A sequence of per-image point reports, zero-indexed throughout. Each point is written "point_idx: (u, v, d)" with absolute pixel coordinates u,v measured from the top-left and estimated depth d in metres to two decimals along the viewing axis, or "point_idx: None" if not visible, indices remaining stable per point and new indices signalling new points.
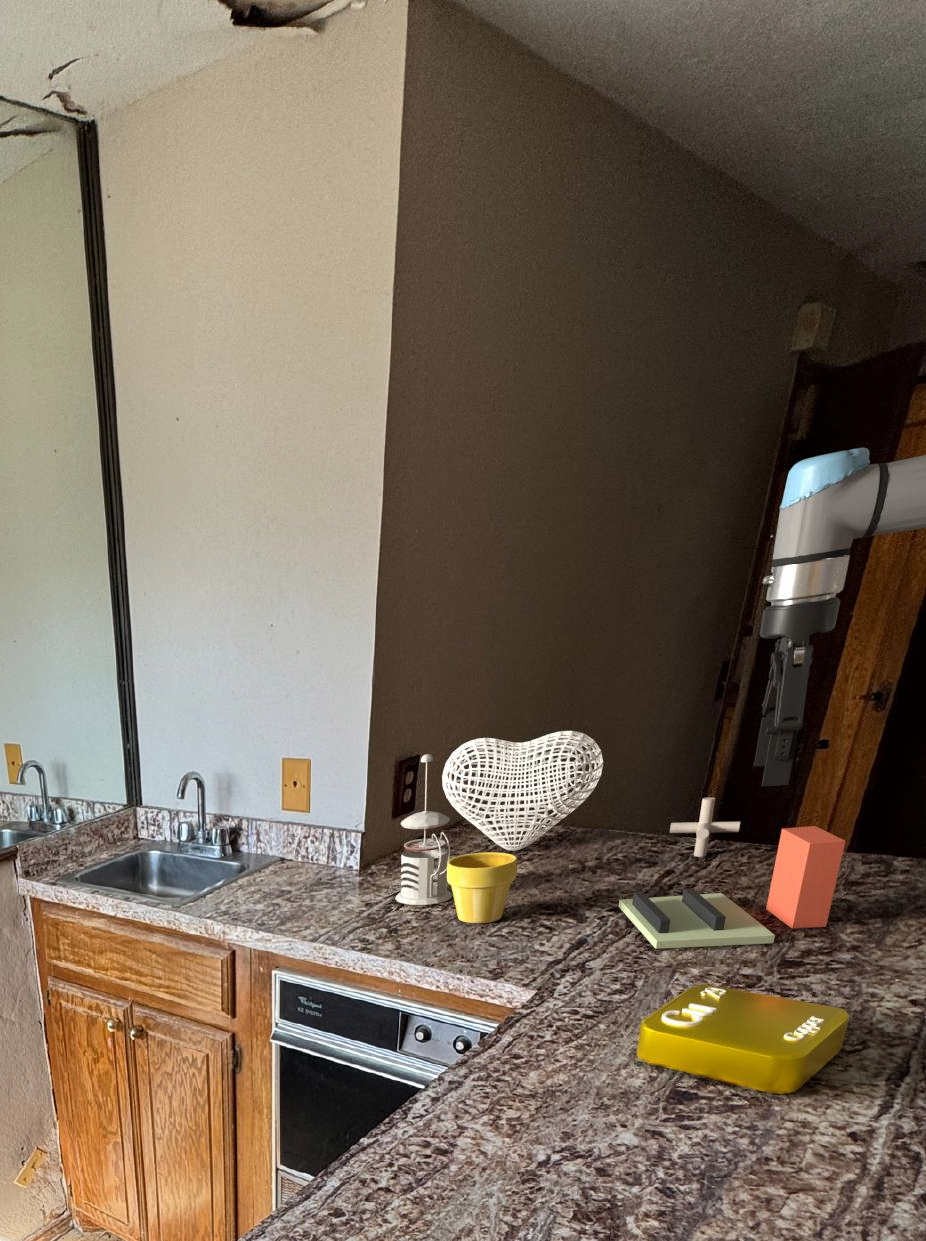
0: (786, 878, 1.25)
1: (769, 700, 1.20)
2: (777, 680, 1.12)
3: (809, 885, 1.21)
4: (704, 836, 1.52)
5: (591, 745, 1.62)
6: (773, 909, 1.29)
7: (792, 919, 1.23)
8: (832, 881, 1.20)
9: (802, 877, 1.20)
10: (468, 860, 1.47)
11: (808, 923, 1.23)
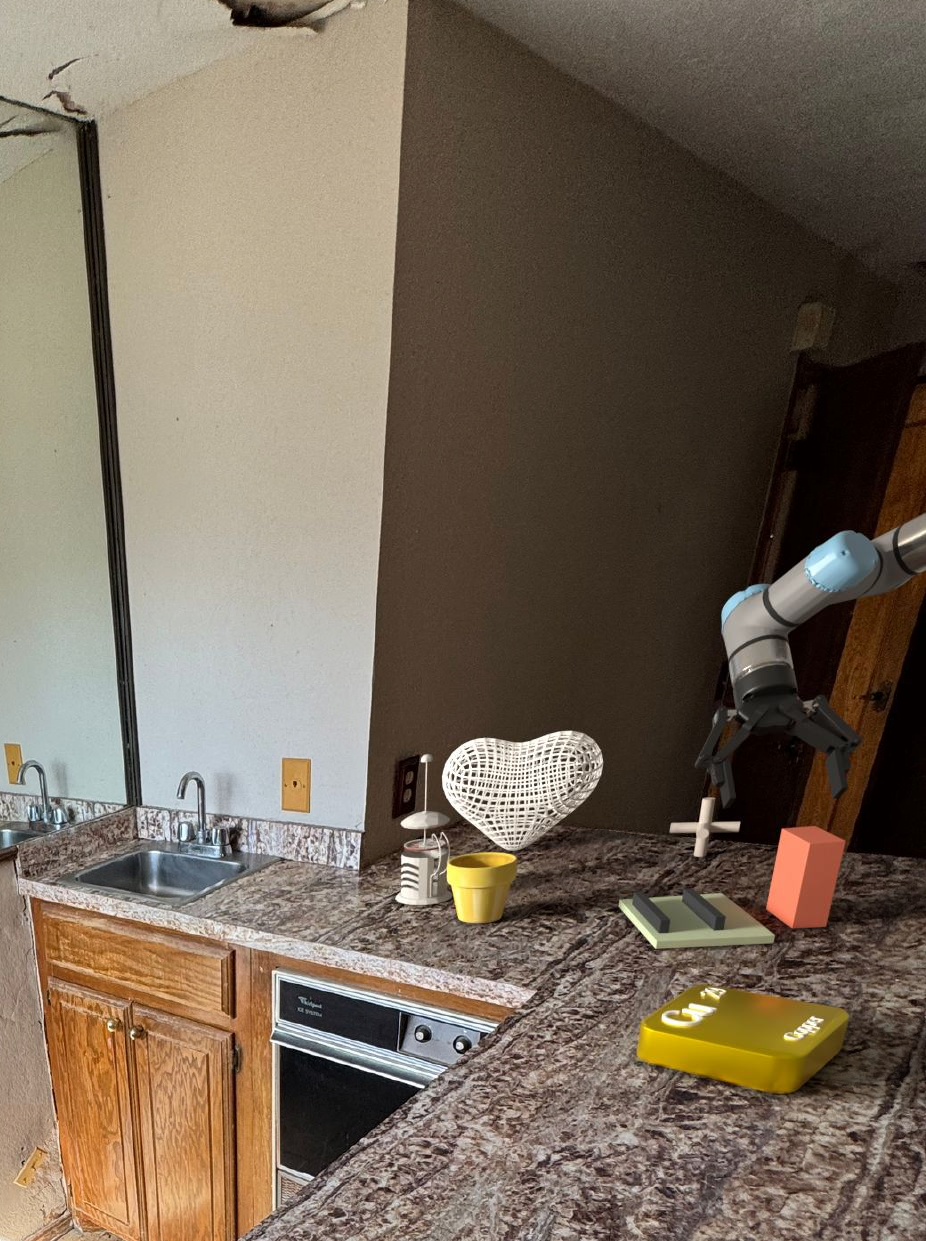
0: (786, 878, 1.25)
1: (816, 747, 1.31)
2: None
3: (809, 885, 1.21)
4: (704, 836, 1.52)
5: (591, 745, 1.62)
6: (773, 909, 1.29)
7: (792, 919, 1.23)
8: (832, 881, 1.20)
9: (802, 877, 1.20)
10: (468, 860, 1.47)
11: (808, 923, 1.23)
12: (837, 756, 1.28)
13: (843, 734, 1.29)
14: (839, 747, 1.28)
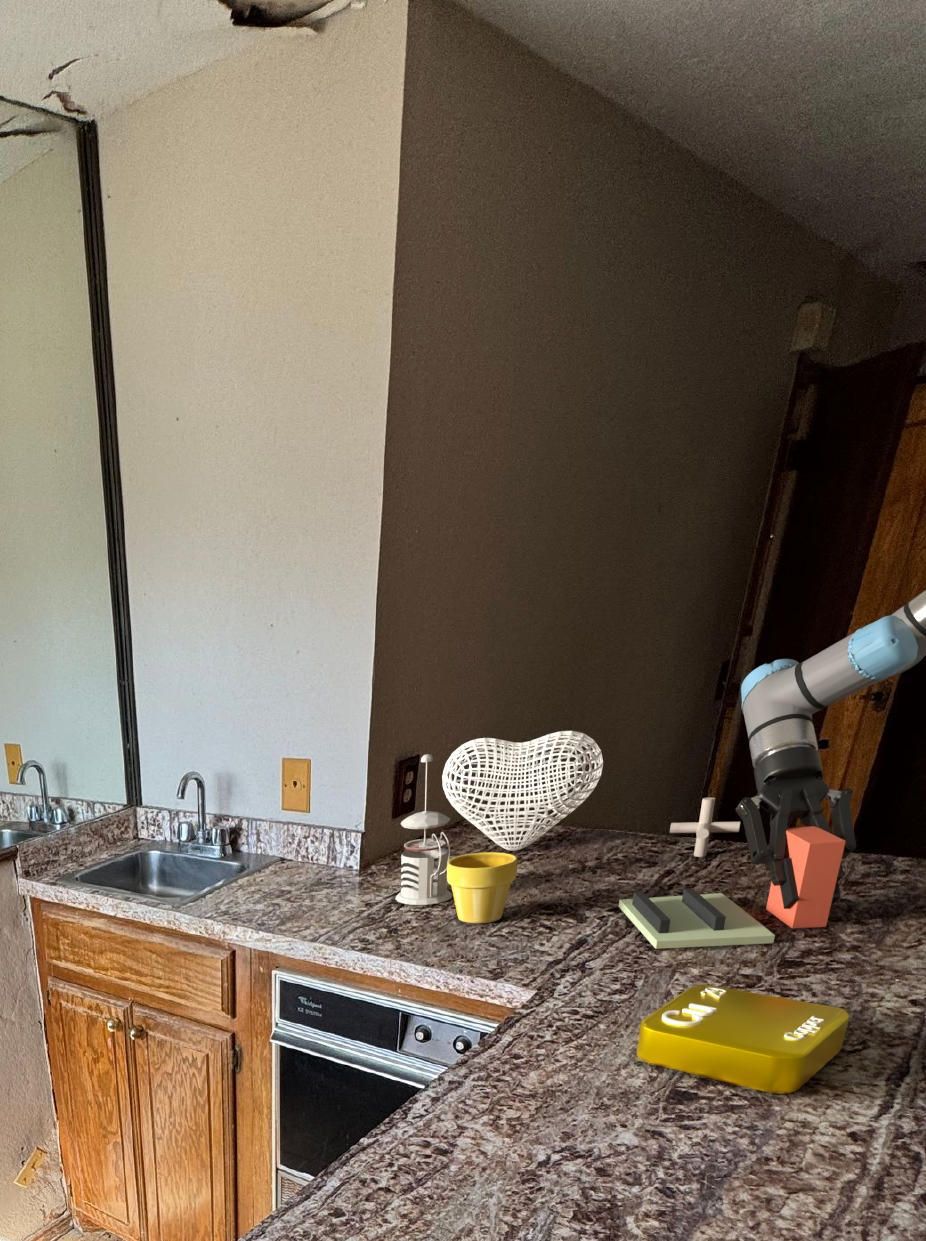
0: None
1: None
2: (770, 825, 1.28)
3: (809, 885, 1.21)
4: (704, 836, 1.52)
5: (591, 745, 1.62)
6: (773, 909, 1.29)
7: (792, 919, 1.23)
8: (832, 881, 1.20)
9: (802, 877, 1.20)
10: (468, 860, 1.47)
11: (808, 923, 1.23)
12: None
13: (842, 835, 1.23)
14: None
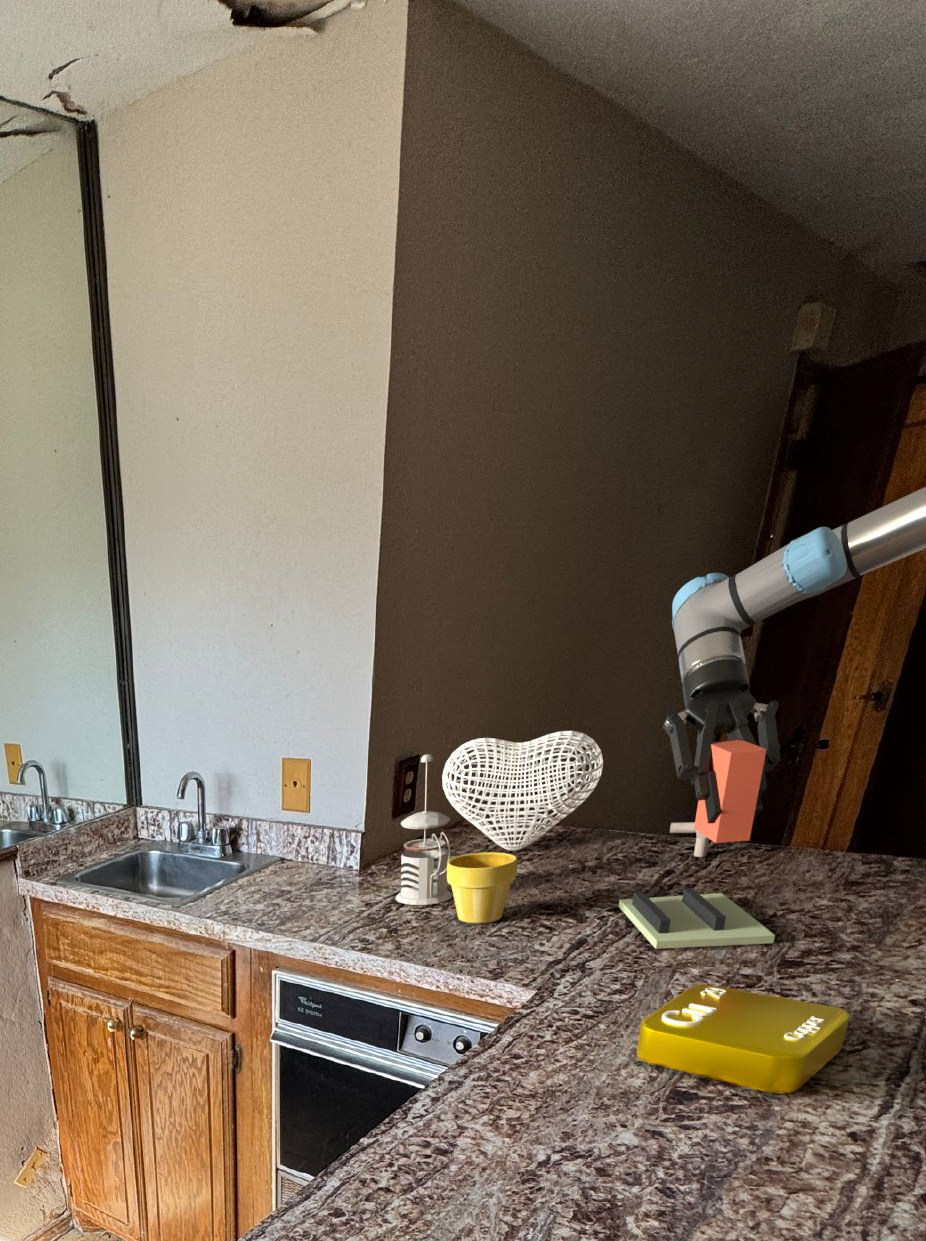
0: None
1: None
2: (697, 741, 1.26)
3: (732, 797, 1.18)
4: (704, 836, 1.52)
5: (591, 745, 1.62)
6: (700, 827, 1.27)
7: (716, 833, 1.21)
8: (754, 792, 1.17)
9: (724, 788, 1.18)
10: (468, 860, 1.47)
11: (731, 837, 1.20)
12: None
13: (767, 747, 1.20)
14: None
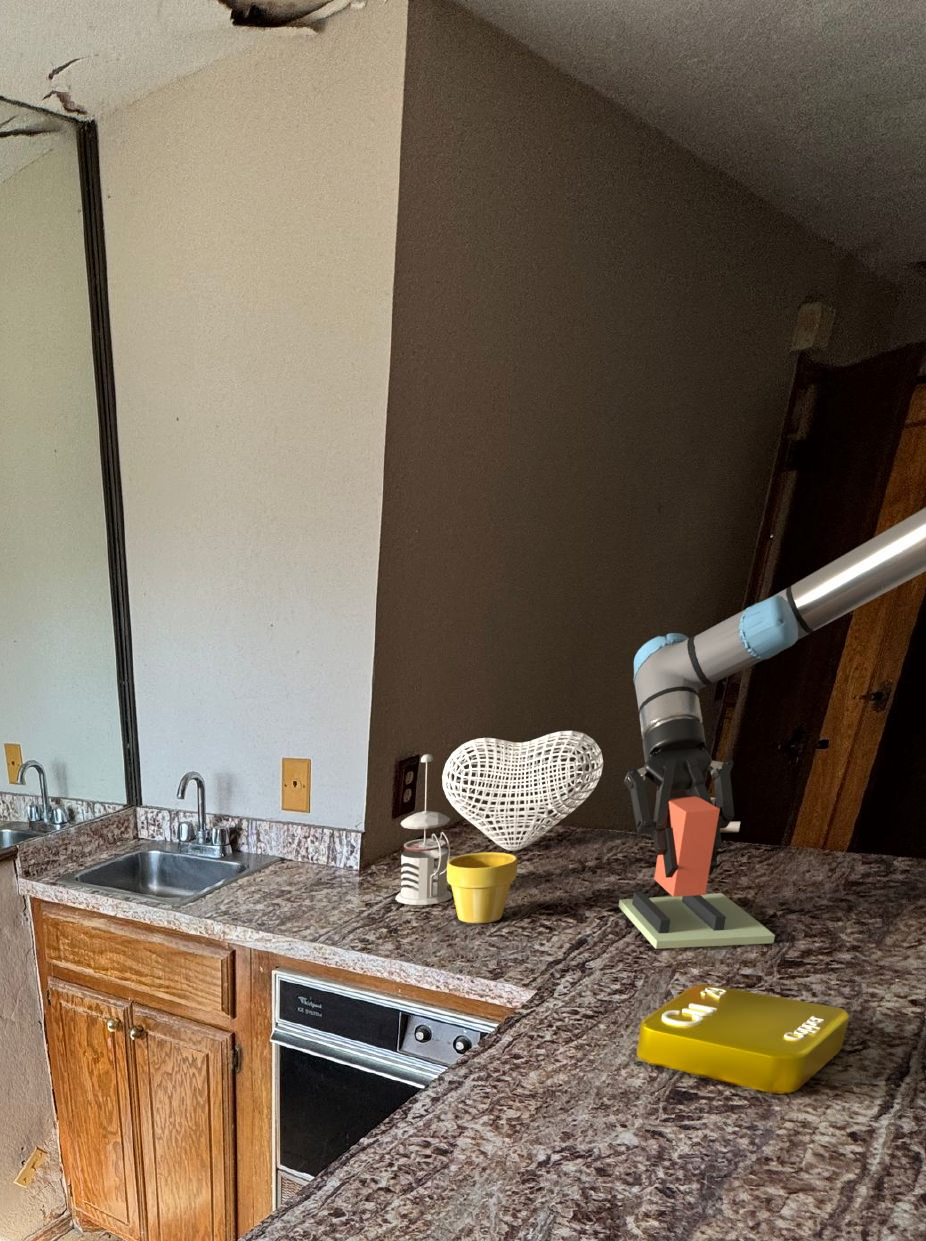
0: None
1: None
2: (656, 796, 1.30)
3: (687, 854, 1.23)
4: None
5: (591, 745, 1.62)
6: (659, 879, 1.31)
7: (673, 887, 1.25)
8: (709, 849, 1.22)
9: (680, 845, 1.23)
10: (468, 860, 1.47)
11: (688, 891, 1.25)
12: None
13: (722, 804, 1.25)
14: None
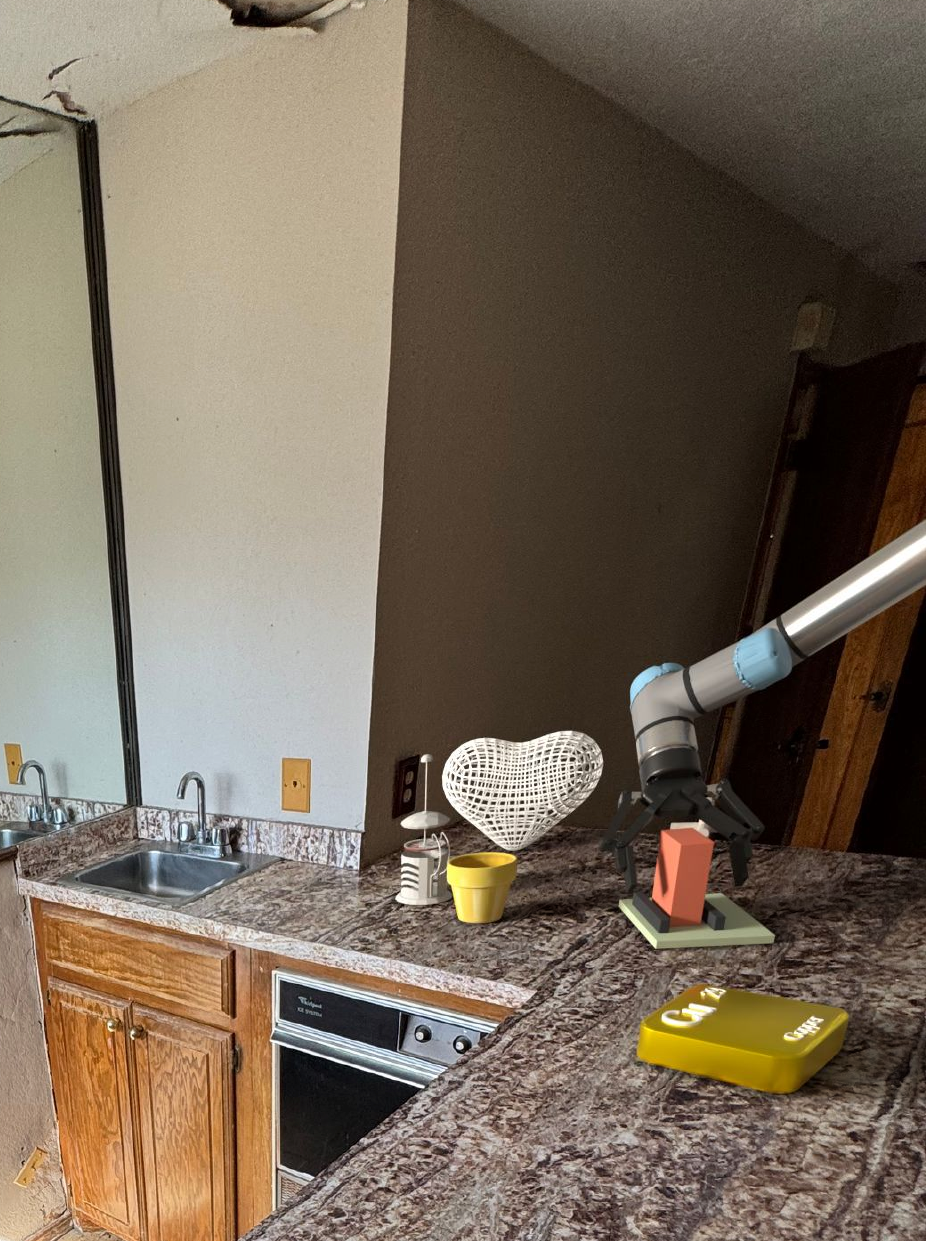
0: (664, 878, 1.29)
1: (719, 832, 1.28)
2: None
3: (682, 885, 1.25)
4: None
5: (591, 745, 1.62)
6: None
7: None
8: (703, 881, 1.24)
9: (675, 877, 1.25)
10: (468, 860, 1.47)
11: (683, 921, 1.27)
12: (739, 844, 1.25)
13: (745, 820, 1.26)
14: (741, 834, 1.25)
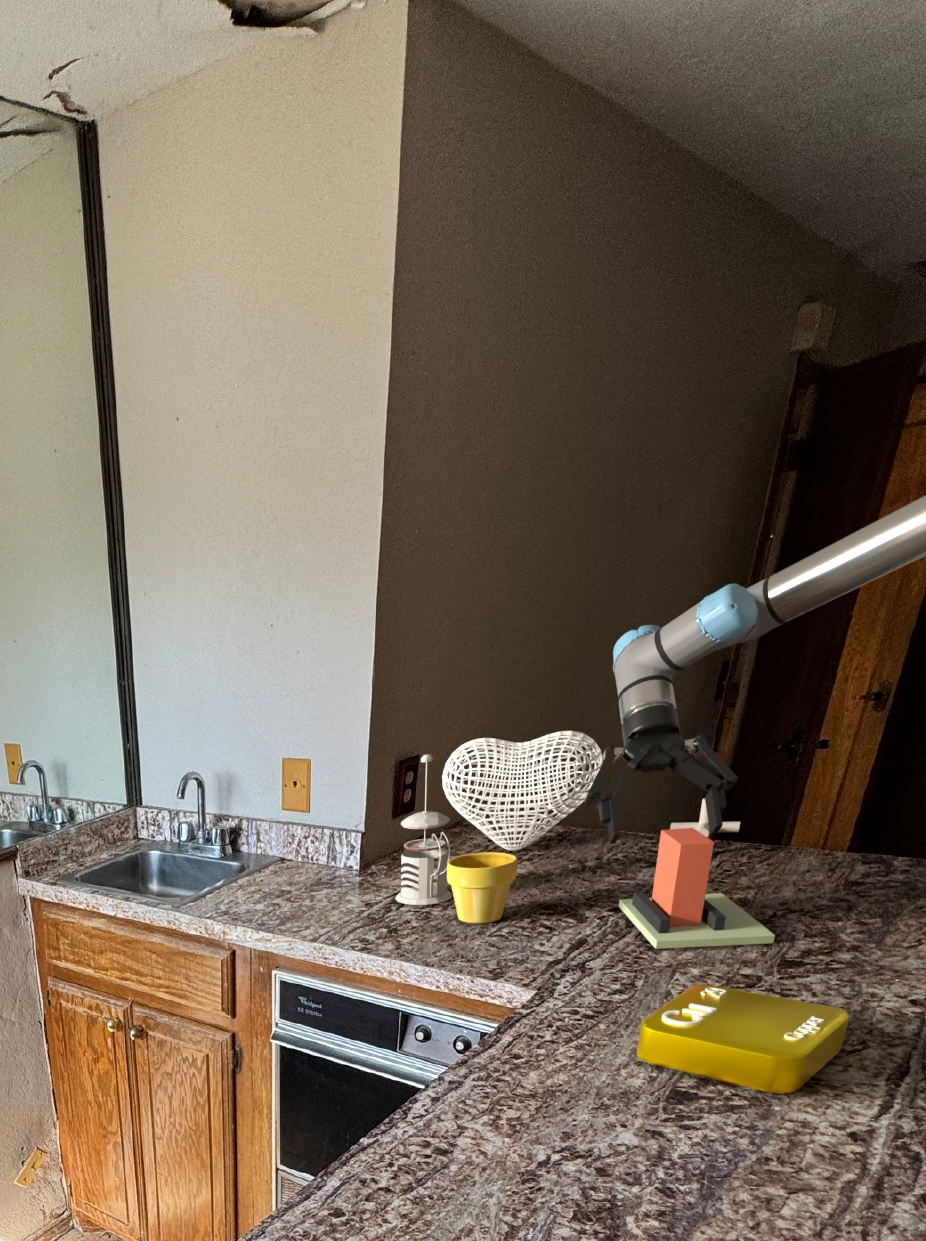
0: (664, 878, 1.29)
1: (696, 784, 1.37)
2: None
3: (682, 885, 1.25)
4: None
5: (591, 745, 1.62)
6: None
7: None
8: (703, 881, 1.24)
9: (675, 877, 1.25)
10: (468, 860, 1.47)
11: (683, 921, 1.27)
12: (713, 794, 1.34)
13: (720, 772, 1.35)
14: (716, 785, 1.34)
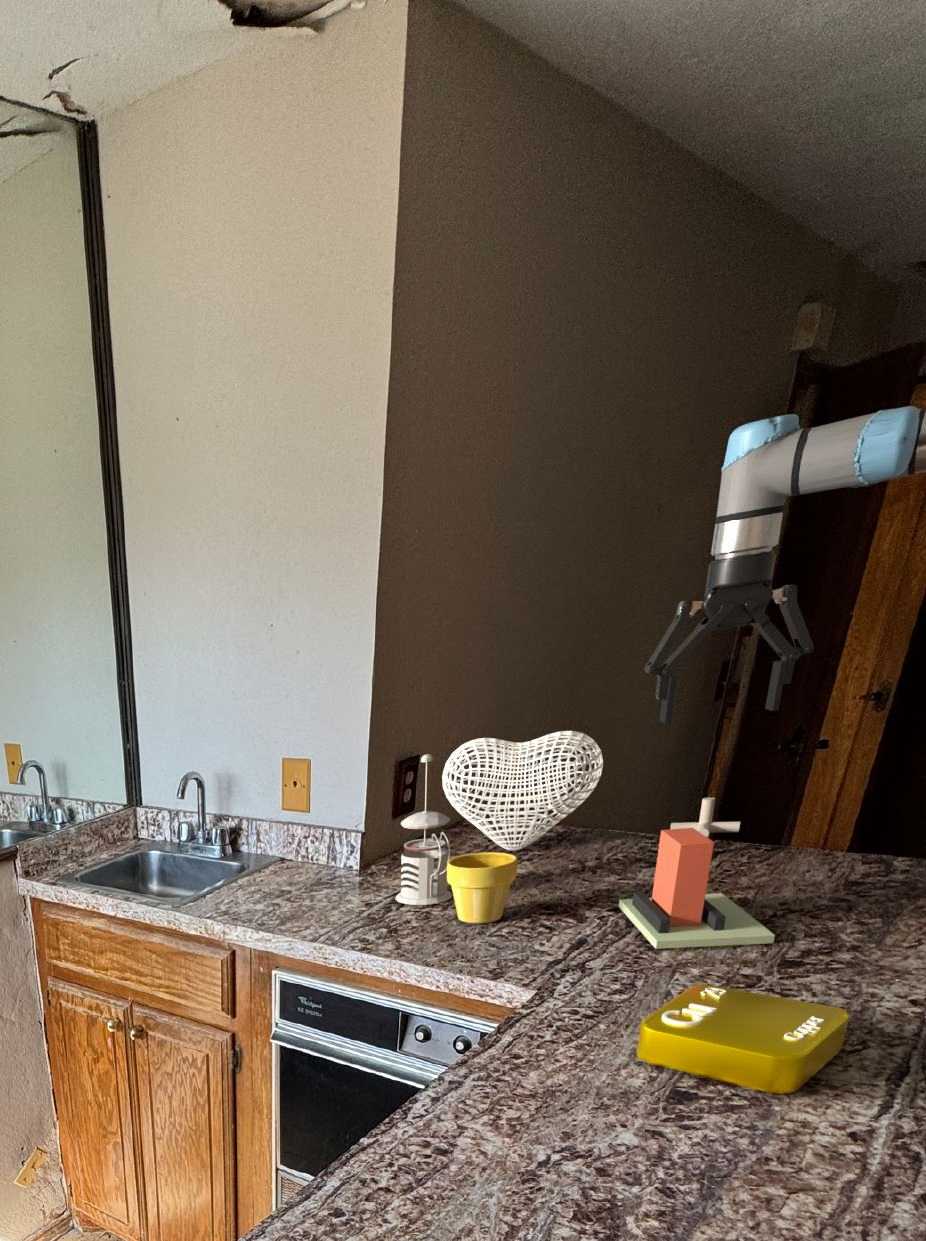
0: (664, 878, 1.29)
1: None
2: (696, 627, 1.29)
3: (682, 885, 1.25)
4: None
5: (591, 745, 1.62)
6: None
7: None
8: (703, 881, 1.24)
9: (675, 877, 1.25)
10: (468, 860, 1.47)
11: (683, 921, 1.27)
12: (781, 671, 1.26)
13: (798, 639, 1.24)
14: (787, 658, 1.25)
